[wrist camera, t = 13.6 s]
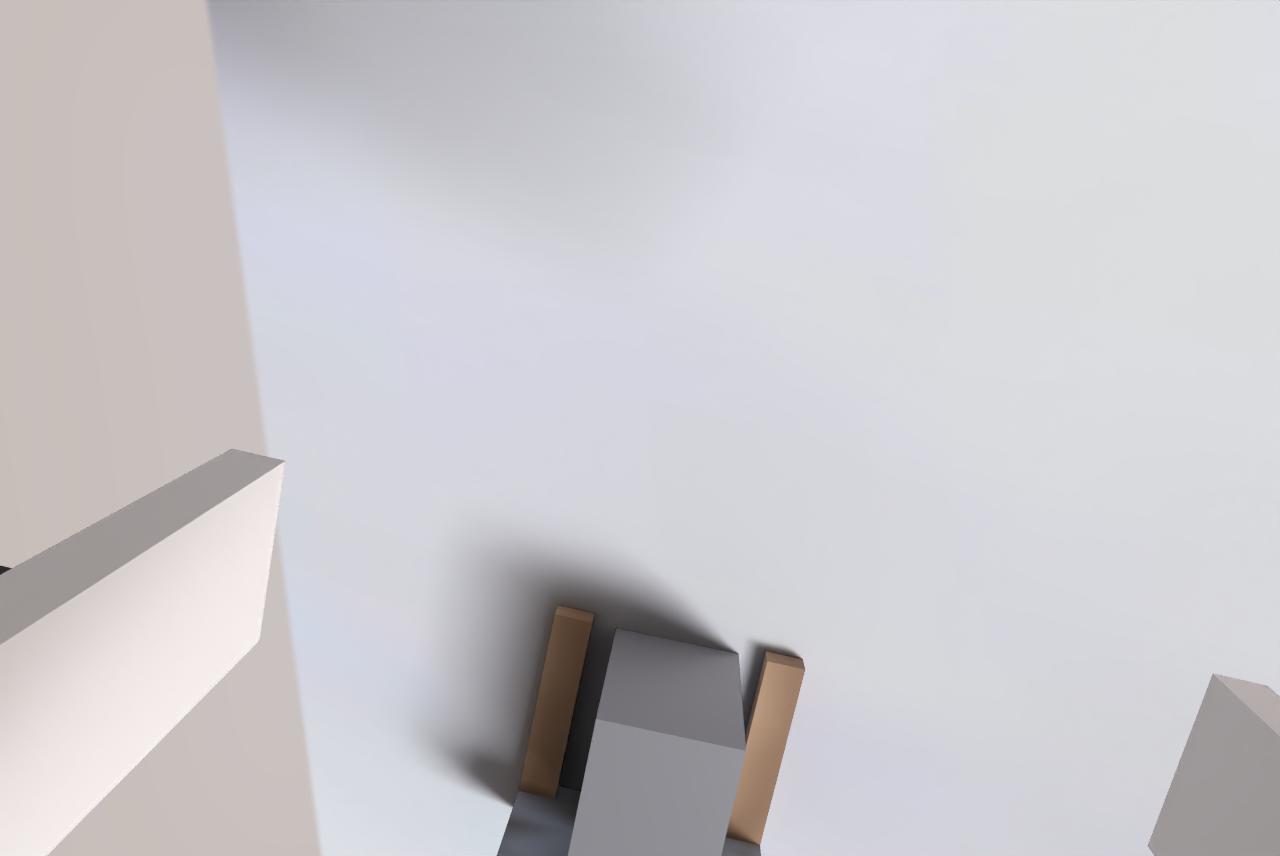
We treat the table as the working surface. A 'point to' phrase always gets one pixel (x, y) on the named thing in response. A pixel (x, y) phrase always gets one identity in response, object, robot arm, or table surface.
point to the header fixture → (541, 805)
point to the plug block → (662, 751)
